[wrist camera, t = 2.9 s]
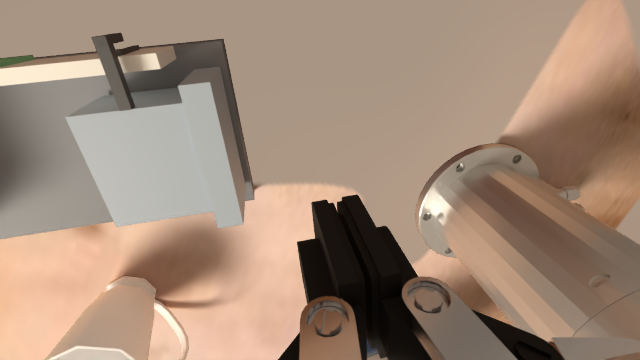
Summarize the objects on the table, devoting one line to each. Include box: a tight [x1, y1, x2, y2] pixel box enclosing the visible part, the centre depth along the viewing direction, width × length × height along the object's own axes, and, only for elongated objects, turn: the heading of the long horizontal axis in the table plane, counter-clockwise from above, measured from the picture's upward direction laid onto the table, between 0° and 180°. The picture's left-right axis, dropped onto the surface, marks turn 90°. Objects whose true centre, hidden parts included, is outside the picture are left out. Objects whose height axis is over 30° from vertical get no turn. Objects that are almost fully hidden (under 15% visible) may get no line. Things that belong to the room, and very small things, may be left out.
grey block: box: [65, 33, 246, 228], centre depth 20 cm, size 8×12×5 cm, turn 5°
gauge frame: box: [0, 39, 254, 239], centre depth 19 cm, size 25×12×10 cm, turn 95°
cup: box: [45, 276, 189, 360], centre depth 28 cm, size 7×10×8 cm
